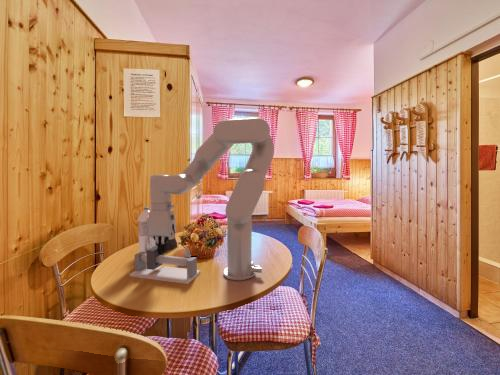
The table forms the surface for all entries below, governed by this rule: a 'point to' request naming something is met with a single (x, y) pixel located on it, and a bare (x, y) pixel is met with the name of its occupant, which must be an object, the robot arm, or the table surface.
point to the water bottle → (144, 232)
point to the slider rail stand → (166, 268)
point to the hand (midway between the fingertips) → (162, 252)
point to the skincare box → (187, 251)
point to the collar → (152, 258)
